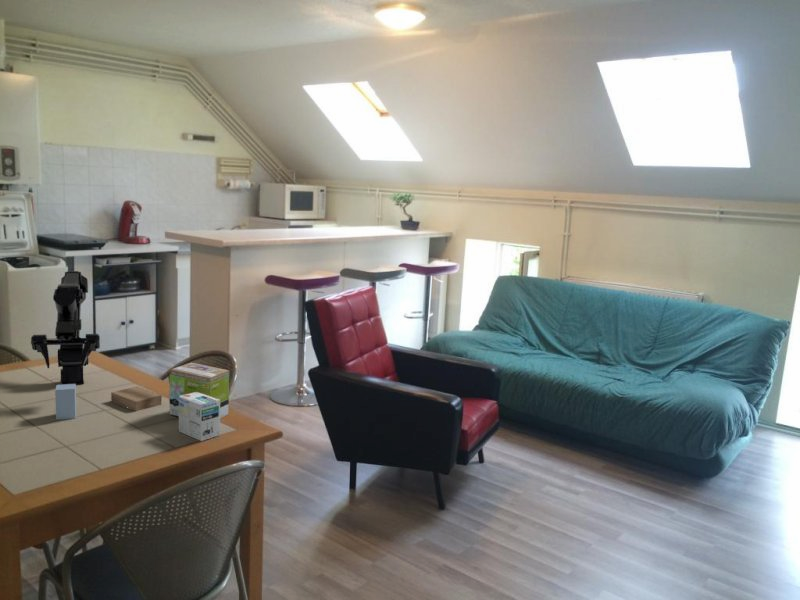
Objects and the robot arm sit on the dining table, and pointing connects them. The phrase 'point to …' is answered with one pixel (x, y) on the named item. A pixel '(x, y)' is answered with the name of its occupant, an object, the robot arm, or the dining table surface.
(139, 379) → the dining table surface
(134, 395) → the stack block
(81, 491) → the dining table surface
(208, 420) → the light bulb box
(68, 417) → the pillar block
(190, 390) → the tea box
